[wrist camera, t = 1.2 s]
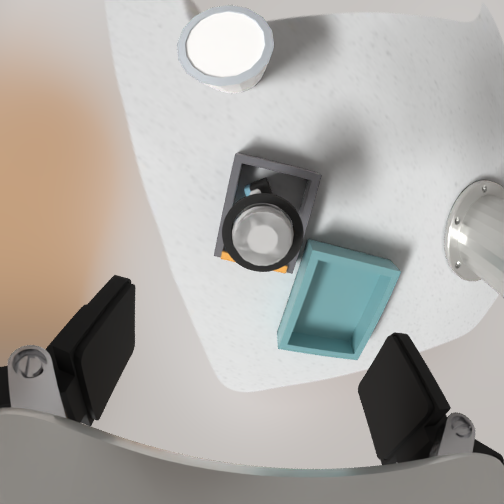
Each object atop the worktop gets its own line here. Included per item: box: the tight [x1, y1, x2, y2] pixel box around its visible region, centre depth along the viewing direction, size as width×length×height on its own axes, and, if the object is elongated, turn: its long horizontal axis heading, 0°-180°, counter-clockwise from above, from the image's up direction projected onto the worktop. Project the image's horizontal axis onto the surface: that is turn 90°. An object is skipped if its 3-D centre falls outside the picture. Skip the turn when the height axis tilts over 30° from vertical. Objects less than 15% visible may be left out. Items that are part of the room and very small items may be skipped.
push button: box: [222, 178, 304, 272], centre depth 23 cm, size 7×5×10 cm
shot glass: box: [177, 5, 274, 93], centre depth 19 cm, size 7×7×7 cm
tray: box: [277, 239, 401, 360], centre depth 29 cm, size 10×12×3 cm
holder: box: [214, 153, 322, 273], centre depth 26 cm, size 8×10×2 cm
